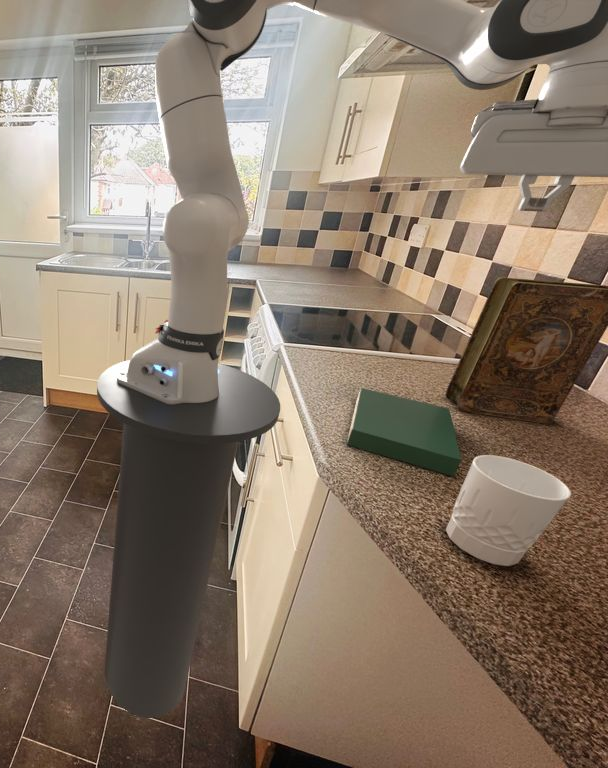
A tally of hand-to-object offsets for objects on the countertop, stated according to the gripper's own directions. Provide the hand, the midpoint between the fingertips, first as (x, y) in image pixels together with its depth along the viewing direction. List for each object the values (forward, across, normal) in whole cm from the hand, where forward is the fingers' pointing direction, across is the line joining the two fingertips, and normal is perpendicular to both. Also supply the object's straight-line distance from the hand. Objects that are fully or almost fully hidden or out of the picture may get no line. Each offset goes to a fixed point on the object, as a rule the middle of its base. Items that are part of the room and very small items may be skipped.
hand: (531, 211), depth 60 cm
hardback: (+36, -6, -8) cm, 37 cm away
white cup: (+36, +3, -32) cm, 49 cm away
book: (+36, +11, +16) cm, 41 cm away
